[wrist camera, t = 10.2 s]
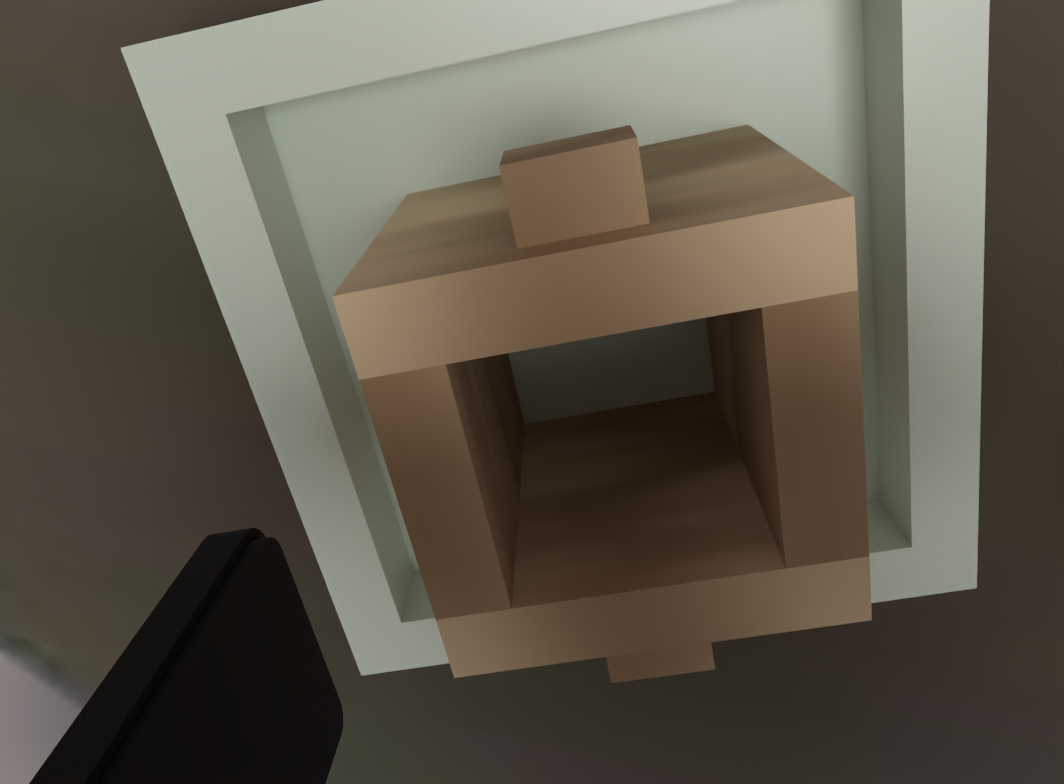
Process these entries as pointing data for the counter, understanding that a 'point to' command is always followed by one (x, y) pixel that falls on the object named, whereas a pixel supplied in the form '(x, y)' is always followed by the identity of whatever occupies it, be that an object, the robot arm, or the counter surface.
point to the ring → (629, 432)
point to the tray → (557, 113)
